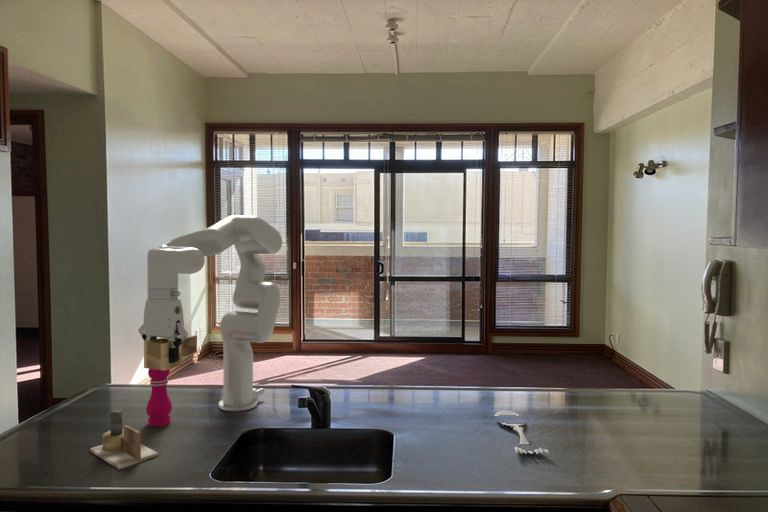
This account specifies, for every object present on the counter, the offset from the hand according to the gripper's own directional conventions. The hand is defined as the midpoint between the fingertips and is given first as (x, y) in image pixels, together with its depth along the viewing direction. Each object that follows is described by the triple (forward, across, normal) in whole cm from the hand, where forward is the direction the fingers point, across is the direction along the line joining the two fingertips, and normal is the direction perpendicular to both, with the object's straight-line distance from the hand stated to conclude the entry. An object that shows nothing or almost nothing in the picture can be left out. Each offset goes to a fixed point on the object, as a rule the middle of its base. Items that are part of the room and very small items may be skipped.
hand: (162, 359), depth 141 cm
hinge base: (+24, +6, +7) cm, 26 cm away
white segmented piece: (+24, -90, -44) cm, 103 cm away
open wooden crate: (+2, 0, -5) cm, 5 cm away
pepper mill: (+24, +13, -13) cm, 30 cm away
